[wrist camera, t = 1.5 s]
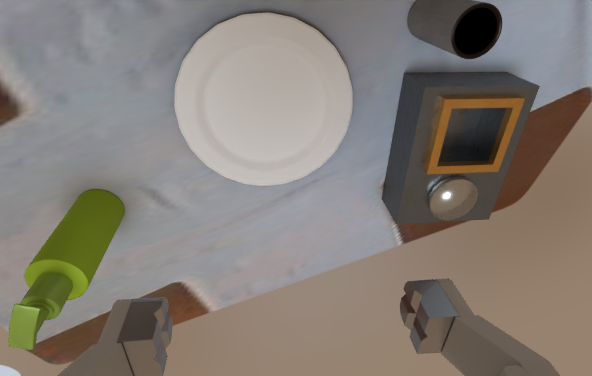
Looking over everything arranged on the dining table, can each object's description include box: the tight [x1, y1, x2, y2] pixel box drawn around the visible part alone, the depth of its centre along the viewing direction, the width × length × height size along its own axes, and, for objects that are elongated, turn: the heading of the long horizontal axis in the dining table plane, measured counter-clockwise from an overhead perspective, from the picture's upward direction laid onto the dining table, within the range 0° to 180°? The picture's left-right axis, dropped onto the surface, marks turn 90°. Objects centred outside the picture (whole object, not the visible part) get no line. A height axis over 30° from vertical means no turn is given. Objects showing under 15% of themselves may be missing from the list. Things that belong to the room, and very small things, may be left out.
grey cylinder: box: [408, 0, 502, 59], centre depth 35 cm, size 4×4×10 cm
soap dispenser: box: [9, 189, 125, 350], centre depth 39 cm, size 6×7×20 cm
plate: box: [174, 12, 353, 186], centre depth 43 cm, size 21×21×2 cm
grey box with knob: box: [382, 72, 539, 224], centre depth 45 cm, size 18×13×7 cm
